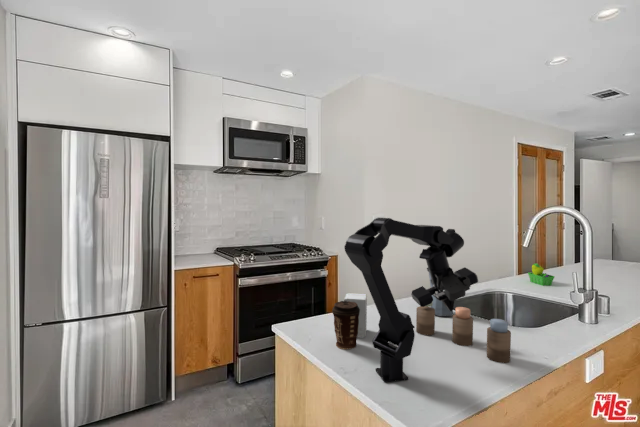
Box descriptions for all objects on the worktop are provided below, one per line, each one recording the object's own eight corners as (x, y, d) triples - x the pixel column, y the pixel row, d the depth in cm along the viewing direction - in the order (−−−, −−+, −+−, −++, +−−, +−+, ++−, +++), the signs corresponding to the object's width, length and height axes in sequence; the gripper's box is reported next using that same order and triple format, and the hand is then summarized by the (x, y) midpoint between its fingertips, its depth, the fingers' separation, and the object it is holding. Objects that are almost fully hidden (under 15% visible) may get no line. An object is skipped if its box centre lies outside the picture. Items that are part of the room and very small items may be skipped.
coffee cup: (343, 337, 112) (343, 298, 111) (365, 344, 106) (365, 303, 106) (327, 346, 105) (327, 304, 104) (349, 354, 100) (349, 310, 99)
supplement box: (365, 337, 111) (365, 299, 111) (343, 336, 113) (343, 298, 112) (367, 329, 118) (367, 293, 118) (346, 328, 120) (346, 292, 120)
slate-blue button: (511, 332, 95) (511, 323, 95) (497, 333, 94) (498, 324, 94) (499, 326, 99) (500, 318, 99) (486, 327, 98) (486, 319, 98)
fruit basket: (555, 285, 181) (556, 264, 180) (540, 286, 180) (541, 265, 179) (538, 281, 192) (539, 261, 192) (524, 281, 191) (525, 261, 190)
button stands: (517, 356, 98) (518, 329, 98) (504, 365, 93) (505, 336, 93) (427, 326, 122) (427, 304, 122) (412, 331, 117) (412, 308, 117)
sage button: (435, 306, 114) (435, 299, 114) (423, 307, 113) (423, 299, 113) (428, 302, 119) (428, 295, 119) (416, 303, 118) (416, 296, 118)
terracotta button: (473, 318, 106) (473, 310, 106) (461, 319, 105) (461, 311, 105) (464, 313, 110) (464, 306, 110) (452, 314, 109) (452, 307, 109)
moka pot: (438, 307, 144) (439, 260, 143) (466, 318, 130) (467, 266, 129) (420, 309, 140) (420, 261, 140) (446, 321, 126) (447, 268, 125)
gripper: (422, 290, 89) (437, 338, 93) (485, 262, 90) (496, 310, 95) (404, 274, 99) (418, 317, 103) (460, 249, 101) (471, 293, 105)
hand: (450, 310), depth 101 cm, fingers closed
